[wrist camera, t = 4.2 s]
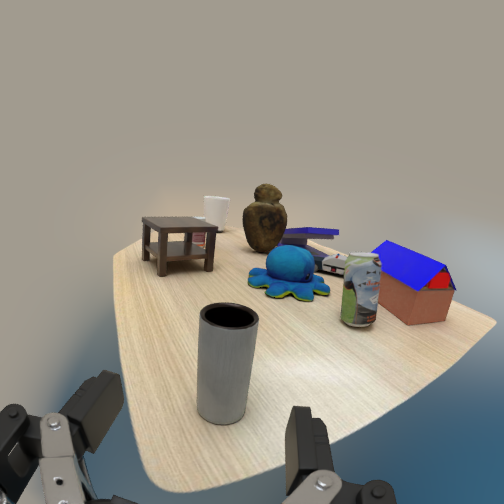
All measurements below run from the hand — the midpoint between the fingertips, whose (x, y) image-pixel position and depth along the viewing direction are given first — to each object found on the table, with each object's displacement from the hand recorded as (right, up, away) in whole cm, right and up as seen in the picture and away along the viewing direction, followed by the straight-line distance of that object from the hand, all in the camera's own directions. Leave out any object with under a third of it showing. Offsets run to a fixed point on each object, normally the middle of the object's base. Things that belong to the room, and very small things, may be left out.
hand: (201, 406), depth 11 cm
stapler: (+17, +7, +83) cm, 85 cm away
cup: (-12, +15, +98) cm, 100 cm away
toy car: (+23, +1, +61) cm, 66 cm away
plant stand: (-15, +4, +53) cm, 55 cm away
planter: (-1, -8, +13) cm, 15 cm away
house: (+34, -4, +44) cm, 56 cm away
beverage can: (+19, -5, +34) cm, 40 cm away
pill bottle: (-14, +8, +72) cm, 74 cm away
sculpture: (+5, +7, +75) cm, 75 cm away
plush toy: (+10, 0, +49) cm, 50 cm away
